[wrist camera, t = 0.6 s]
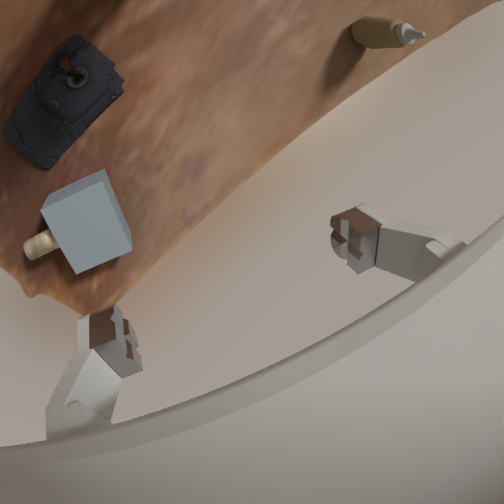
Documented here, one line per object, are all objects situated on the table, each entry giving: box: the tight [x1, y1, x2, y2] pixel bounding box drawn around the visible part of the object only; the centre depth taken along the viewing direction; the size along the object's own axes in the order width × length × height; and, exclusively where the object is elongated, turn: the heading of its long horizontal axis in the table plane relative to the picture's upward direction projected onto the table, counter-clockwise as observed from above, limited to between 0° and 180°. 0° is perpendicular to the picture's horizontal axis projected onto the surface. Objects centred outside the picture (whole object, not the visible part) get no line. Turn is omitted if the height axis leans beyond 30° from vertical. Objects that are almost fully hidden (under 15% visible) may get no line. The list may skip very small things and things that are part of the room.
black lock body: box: [3, 35, 125, 170], centre depth 35 cm, size 15×22×5 cm
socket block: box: [40, 169, 133, 274], centre depth 46 cm, size 14×12×7 cm
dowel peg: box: [24, 228, 60, 261], centre depth 45 cm, size 4×12×4 cm, turn 100°
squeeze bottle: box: [351, 16, 425, 49], centre depth 41 cm, size 8×8×18 cm
